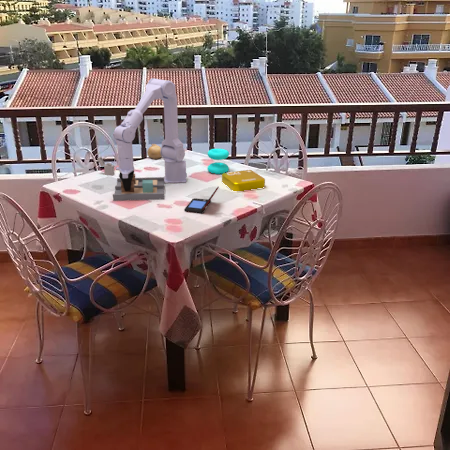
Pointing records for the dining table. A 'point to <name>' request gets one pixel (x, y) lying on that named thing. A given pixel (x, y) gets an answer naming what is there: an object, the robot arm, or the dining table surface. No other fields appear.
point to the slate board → (159, 195)
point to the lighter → (107, 167)
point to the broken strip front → (135, 180)
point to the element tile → (243, 180)
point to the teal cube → (147, 186)
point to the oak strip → (134, 189)
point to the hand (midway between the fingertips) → (127, 189)
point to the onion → (154, 152)
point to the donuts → (218, 166)
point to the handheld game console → (199, 204)
